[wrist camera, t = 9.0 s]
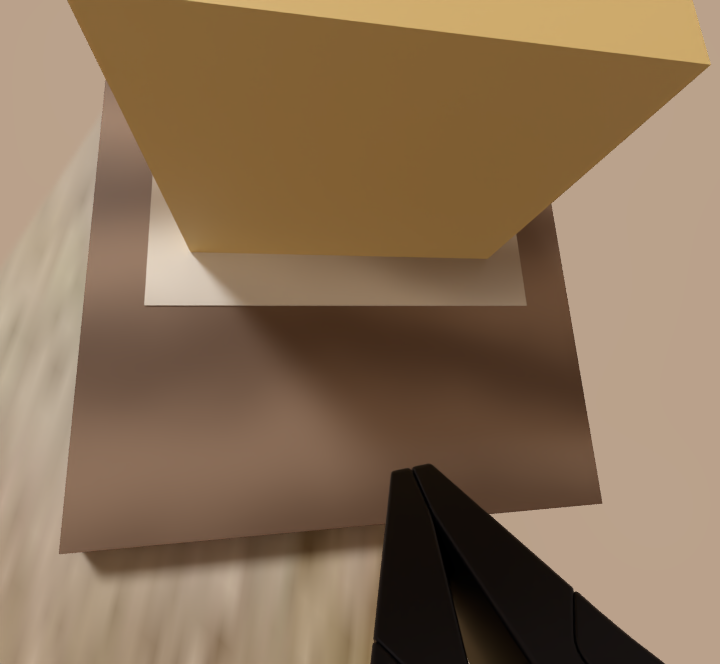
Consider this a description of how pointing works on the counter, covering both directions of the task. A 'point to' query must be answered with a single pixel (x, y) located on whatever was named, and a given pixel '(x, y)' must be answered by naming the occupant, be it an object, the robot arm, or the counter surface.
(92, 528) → the walnut board
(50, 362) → the counter surface
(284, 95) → the t block
